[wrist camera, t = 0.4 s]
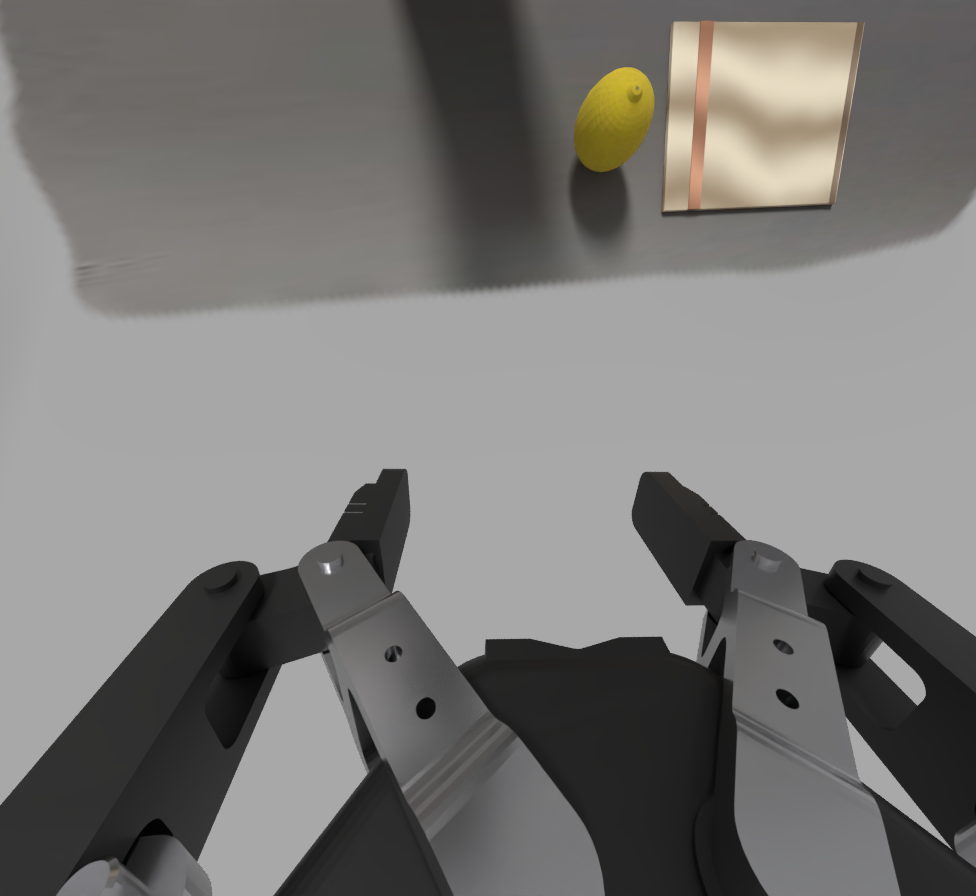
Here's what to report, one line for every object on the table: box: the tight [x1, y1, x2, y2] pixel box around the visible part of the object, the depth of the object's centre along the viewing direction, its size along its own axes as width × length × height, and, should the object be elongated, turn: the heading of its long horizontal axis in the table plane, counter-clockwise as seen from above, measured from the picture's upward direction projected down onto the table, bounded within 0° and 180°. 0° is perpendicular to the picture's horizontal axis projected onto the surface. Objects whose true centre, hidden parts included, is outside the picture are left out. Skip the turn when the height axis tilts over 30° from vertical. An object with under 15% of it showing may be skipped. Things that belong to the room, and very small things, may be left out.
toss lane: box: [662, 21, 865, 212], centre depth 32 cm, size 14×18×1 cm
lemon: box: [574, 67, 654, 172], centre depth 28 cm, size 6×6×8 cm
